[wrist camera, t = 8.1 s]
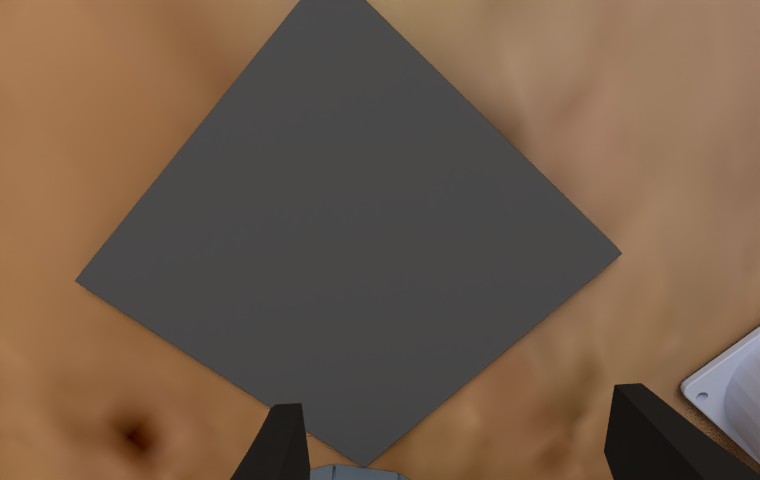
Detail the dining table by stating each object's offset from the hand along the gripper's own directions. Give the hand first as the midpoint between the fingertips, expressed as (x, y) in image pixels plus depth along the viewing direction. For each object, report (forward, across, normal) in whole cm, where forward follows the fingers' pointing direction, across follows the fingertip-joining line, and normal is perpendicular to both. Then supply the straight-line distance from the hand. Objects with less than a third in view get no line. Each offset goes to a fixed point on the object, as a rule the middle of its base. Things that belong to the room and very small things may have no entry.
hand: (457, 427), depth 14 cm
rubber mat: (+10, +3, +1) cm, 11 cm away
